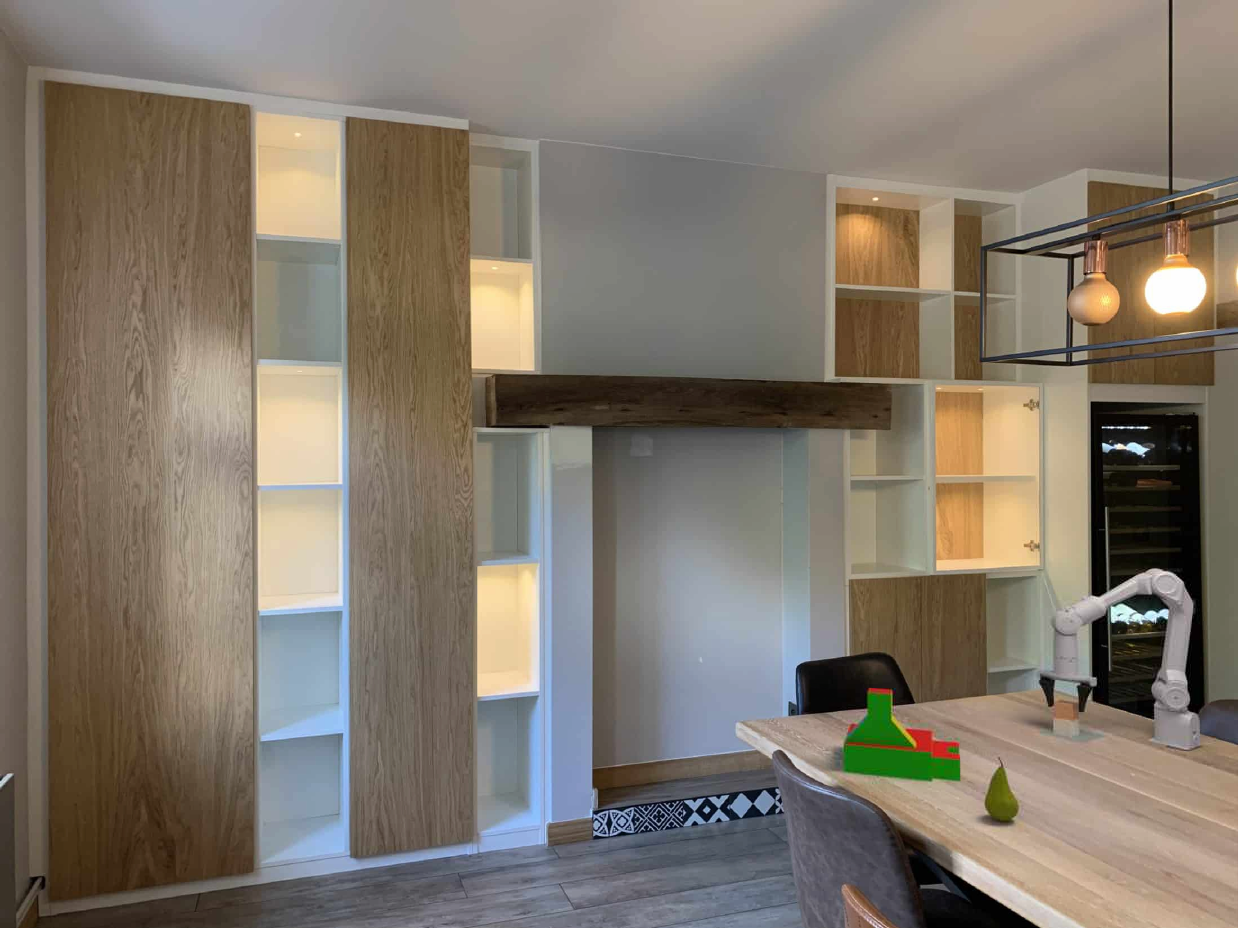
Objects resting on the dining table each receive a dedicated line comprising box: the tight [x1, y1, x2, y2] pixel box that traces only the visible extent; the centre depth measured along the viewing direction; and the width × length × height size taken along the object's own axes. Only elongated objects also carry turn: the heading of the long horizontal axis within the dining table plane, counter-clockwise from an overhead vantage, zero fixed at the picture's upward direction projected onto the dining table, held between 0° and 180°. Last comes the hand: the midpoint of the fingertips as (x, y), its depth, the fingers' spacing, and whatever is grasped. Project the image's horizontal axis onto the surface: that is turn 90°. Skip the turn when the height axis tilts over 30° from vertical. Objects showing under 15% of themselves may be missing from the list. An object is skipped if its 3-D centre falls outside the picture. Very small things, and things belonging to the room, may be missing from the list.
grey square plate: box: [1037, 727, 1107, 744], centre depth 231 cm, size 12×12×1 cm
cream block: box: [1052, 717, 1080, 737], centre depth 231 cm, size 4×4×4 cm
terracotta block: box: [1053, 699, 1080, 721], centre depth 232 cm, size 4×4×4 cm
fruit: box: [984, 756, 1020, 822], centre depth 172 cm, size 6×6×12 cm
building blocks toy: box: [843, 687, 961, 782], centre depth 206 cm, size 19×25×18 cm
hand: (1066, 708), depth 232 cm, fingers open, 7 cm apart
